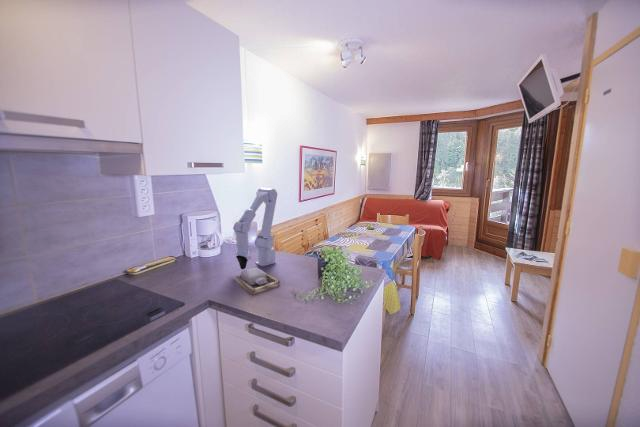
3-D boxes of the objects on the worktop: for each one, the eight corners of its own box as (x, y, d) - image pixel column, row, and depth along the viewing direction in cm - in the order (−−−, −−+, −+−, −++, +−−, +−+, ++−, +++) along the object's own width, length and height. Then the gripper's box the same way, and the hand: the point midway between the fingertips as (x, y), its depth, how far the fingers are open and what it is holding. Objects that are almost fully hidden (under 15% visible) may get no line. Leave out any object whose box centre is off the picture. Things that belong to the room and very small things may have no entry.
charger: (255, 290, 120) (241, 279, 130) (273, 285, 126) (257, 275, 137) (255, 281, 119) (240, 271, 130) (273, 275, 125) (257, 266, 136)
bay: (260, 273, 138) (260, 269, 138) (279, 285, 125) (279, 281, 125) (234, 280, 129) (234, 276, 128) (252, 294, 116) (252, 290, 115)
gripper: (228, 242, 137) (229, 266, 140) (241, 249, 127) (242, 275, 129) (241, 239, 142) (242, 263, 145) (254, 246, 132) (255, 271, 134)
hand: (243, 268), depth 137 cm, fingers closed
